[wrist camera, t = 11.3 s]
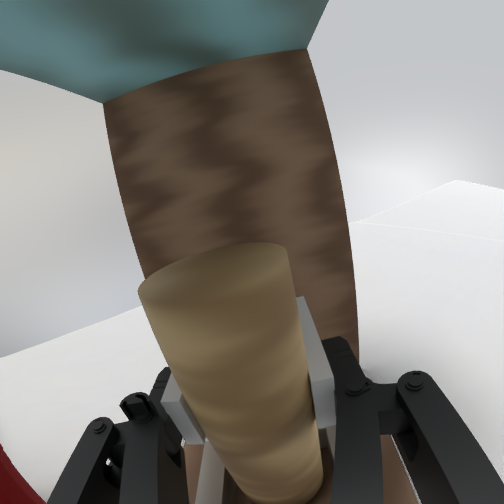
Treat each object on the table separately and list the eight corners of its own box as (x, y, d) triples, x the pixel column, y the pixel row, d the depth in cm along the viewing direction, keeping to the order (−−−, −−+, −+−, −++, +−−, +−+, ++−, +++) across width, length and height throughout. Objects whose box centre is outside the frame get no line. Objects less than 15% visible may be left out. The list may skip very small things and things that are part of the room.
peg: (241, 514, 10) (112, 313, 6) (243, 454, 14) (163, 260, 11) (329, 503, 9) (298, 278, 6) (317, 443, 14) (279, 234, 10)
